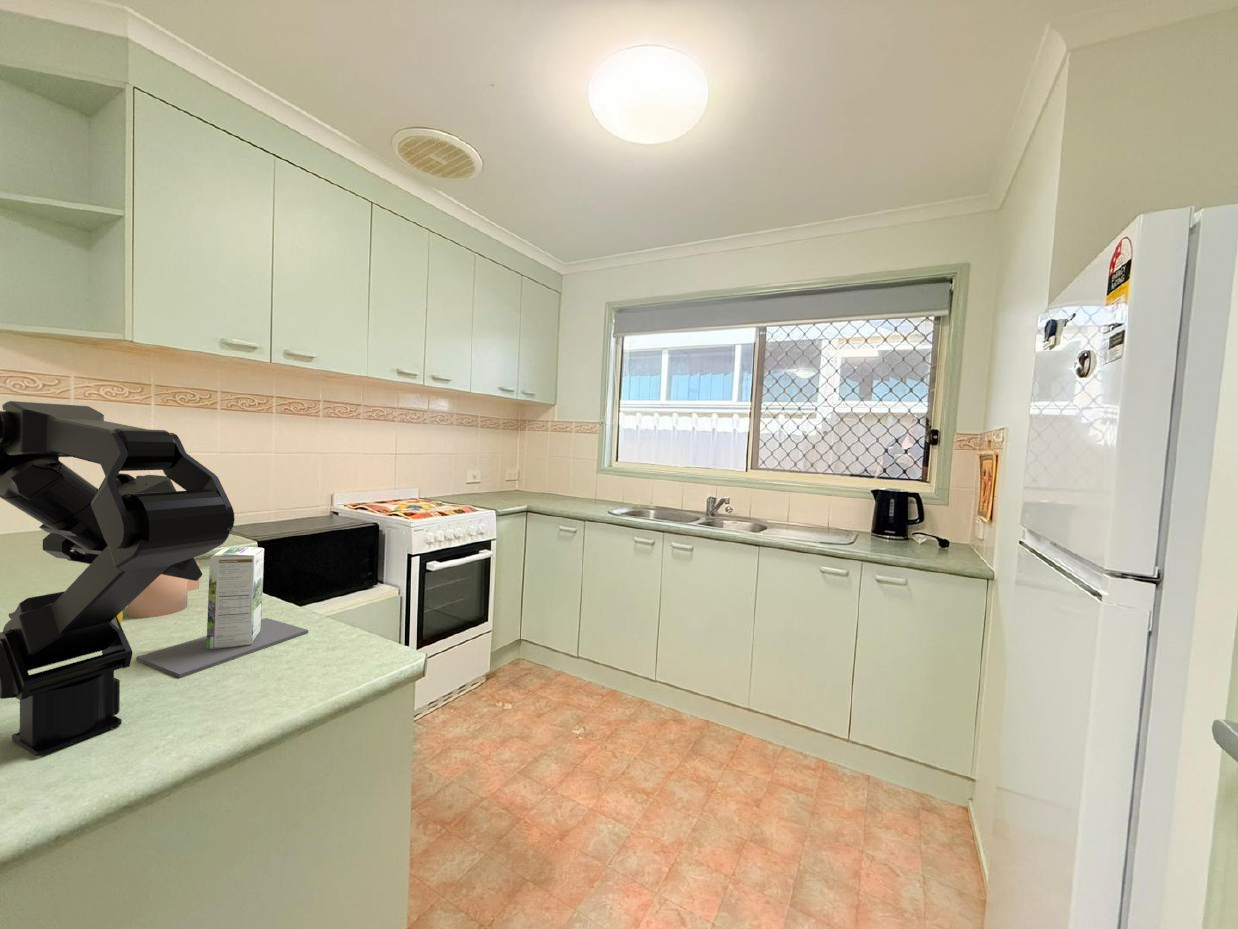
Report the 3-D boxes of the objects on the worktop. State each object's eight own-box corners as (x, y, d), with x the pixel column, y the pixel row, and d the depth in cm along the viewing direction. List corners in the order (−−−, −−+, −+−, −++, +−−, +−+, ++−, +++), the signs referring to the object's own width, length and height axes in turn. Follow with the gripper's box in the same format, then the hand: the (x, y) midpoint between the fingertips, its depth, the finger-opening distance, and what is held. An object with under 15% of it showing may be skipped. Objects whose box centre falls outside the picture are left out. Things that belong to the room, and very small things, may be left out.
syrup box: (218, 636, 79) (220, 547, 78) (262, 631, 81) (264, 545, 80) (205, 650, 73) (207, 555, 73) (253, 645, 76) (255, 553, 75)
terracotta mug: (142, 621, 84) (142, 569, 84) (117, 612, 87) (118, 563, 87) (209, 604, 93) (210, 558, 93) (185, 597, 96) (185, 552, 96)
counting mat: (179, 678, 66) (180, 674, 66) (135, 660, 70) (135, 656, 70) (308, 632, 83) (308, 630, 83) (266, 620, 87) (266, 618, 87)
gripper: (185, 459, 60) (266, 532, 71) (74, 450, 64) (167, 521, 75) (105, 533, 53) (209, 602, 64) (-15, 518, 56) (103, 585, 68)
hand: (173, 573), depth 68 cm, fingers open, 9 cm apart
